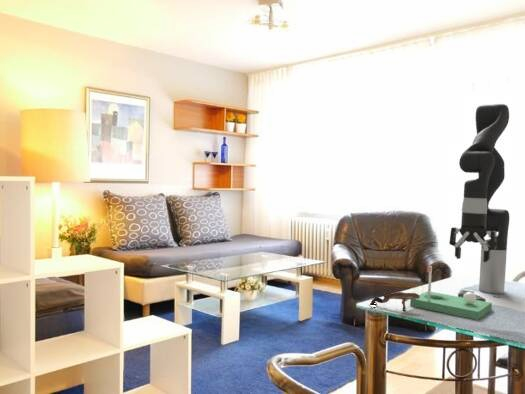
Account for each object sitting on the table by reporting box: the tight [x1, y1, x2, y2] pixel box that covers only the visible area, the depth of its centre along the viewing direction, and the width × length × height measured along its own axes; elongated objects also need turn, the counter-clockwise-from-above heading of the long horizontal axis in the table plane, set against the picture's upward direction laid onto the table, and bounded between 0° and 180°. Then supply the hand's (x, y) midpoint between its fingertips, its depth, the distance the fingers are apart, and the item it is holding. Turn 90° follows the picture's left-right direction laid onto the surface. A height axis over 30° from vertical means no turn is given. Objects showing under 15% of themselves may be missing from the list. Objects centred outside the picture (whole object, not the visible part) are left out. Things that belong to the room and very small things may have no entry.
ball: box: [463, 291, 476, 304], centre depth 157 cm, size 4×4×4 cm
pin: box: [426, 265, 433, 302], centre depth 157 cm, size 3×1×12 cm, turn 140°
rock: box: [457, 290, 487, 302], centre depth 169 cm, size 8×10×4 cm
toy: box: [369, 291, 420, 312], centre depth 157 cm, size 6×9×15 cm
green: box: [409, 290, 493, 320], centre depth 161 cm, size 16×22×2 cm
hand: (471, 260), depth 156 cm, fingers open, 8 cm apart
